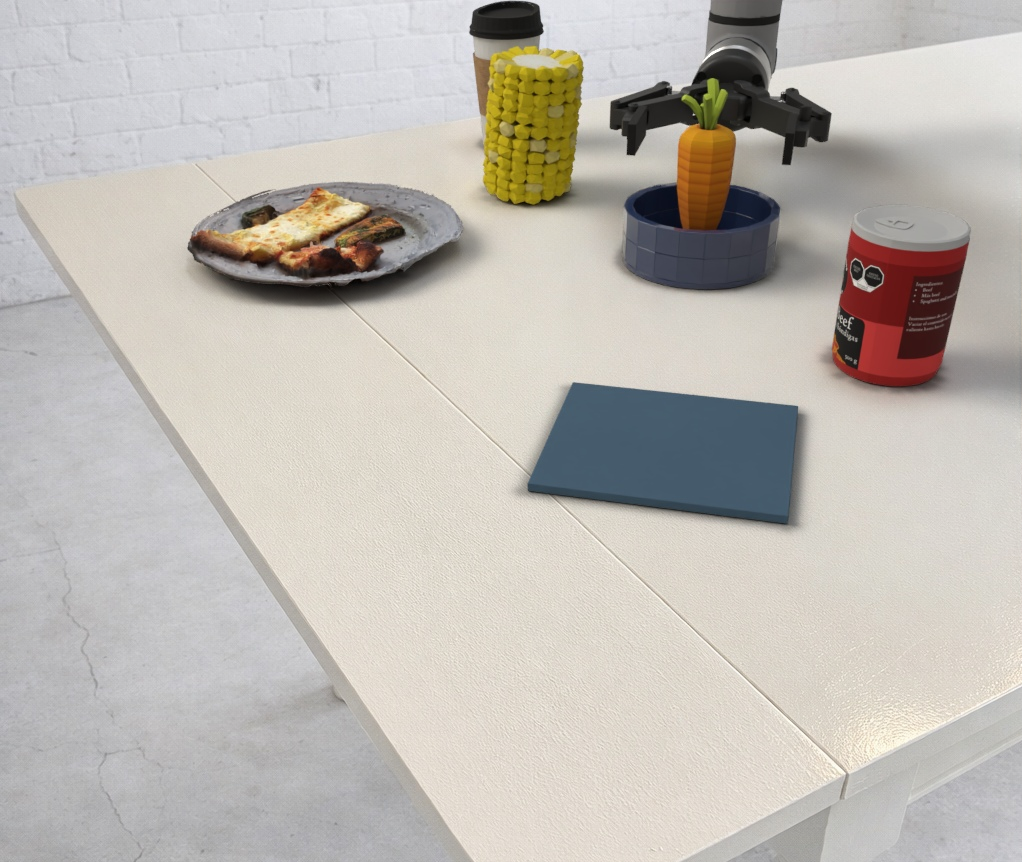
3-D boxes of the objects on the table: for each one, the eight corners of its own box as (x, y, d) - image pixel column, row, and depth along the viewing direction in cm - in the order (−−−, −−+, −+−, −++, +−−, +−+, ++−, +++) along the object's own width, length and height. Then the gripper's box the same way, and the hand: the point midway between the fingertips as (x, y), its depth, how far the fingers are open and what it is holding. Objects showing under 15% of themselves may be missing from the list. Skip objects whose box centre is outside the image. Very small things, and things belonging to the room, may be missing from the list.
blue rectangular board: (797, 413, 79) (798, 405, 78) (787, 524, 67) (788, 516, 67) (572, 389, 82) (572, 381, 82) (527, 491, 71) (527, 483, 70)
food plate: (319, 327, 91) (314, 286, 89) (139, 264, 103) (131, 226, 101) (506, 236, 108) (506, 200, 106) (332, 191, 120) (329, 158, 118)
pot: (777, 239, 106) (784, 186, 104) (768, 295, 95) (775, 238, 93) (634, 228, 109) (637, 177, 106) (610, 282, 98) (612, 226, 95)
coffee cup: (556, 139, 134) (558, 4, 126) (518, 158, 129) (516, 16, 120) (498, 129, 138) (496, -3, 130) (458, 146, 132) (453, 9, 124)
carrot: (704, 269, 99) (720, 92, 91) (659, 255, 102) (670, 83, 94) (736, 253, 102) (754, 81, 94) (691, 240, 105) (704, 72, 97)
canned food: (835, 336, 89) (857, 199, 82) (941, 350, 86) (972, 210, 80) (823, 379, 83) (847, 234, 76) (938, 395, 80) (971, 247, 74)
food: (514, 188, 125) (589, 210, 120) (447, 191, 116) (525, 216, 111) (537, 40, 118) (618, 58, 113) (469, 32, 109) (553, 51, 104)
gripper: (851, 130, 115) (849, 196, 98) (609, 116, 120) (567, 177, 103) (863, 52, 110) (863, 107, 93) (612, 42, 116) (569, 92, 99)
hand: (708, 144), depth 98 cm, fingers open, 13 cm apart
